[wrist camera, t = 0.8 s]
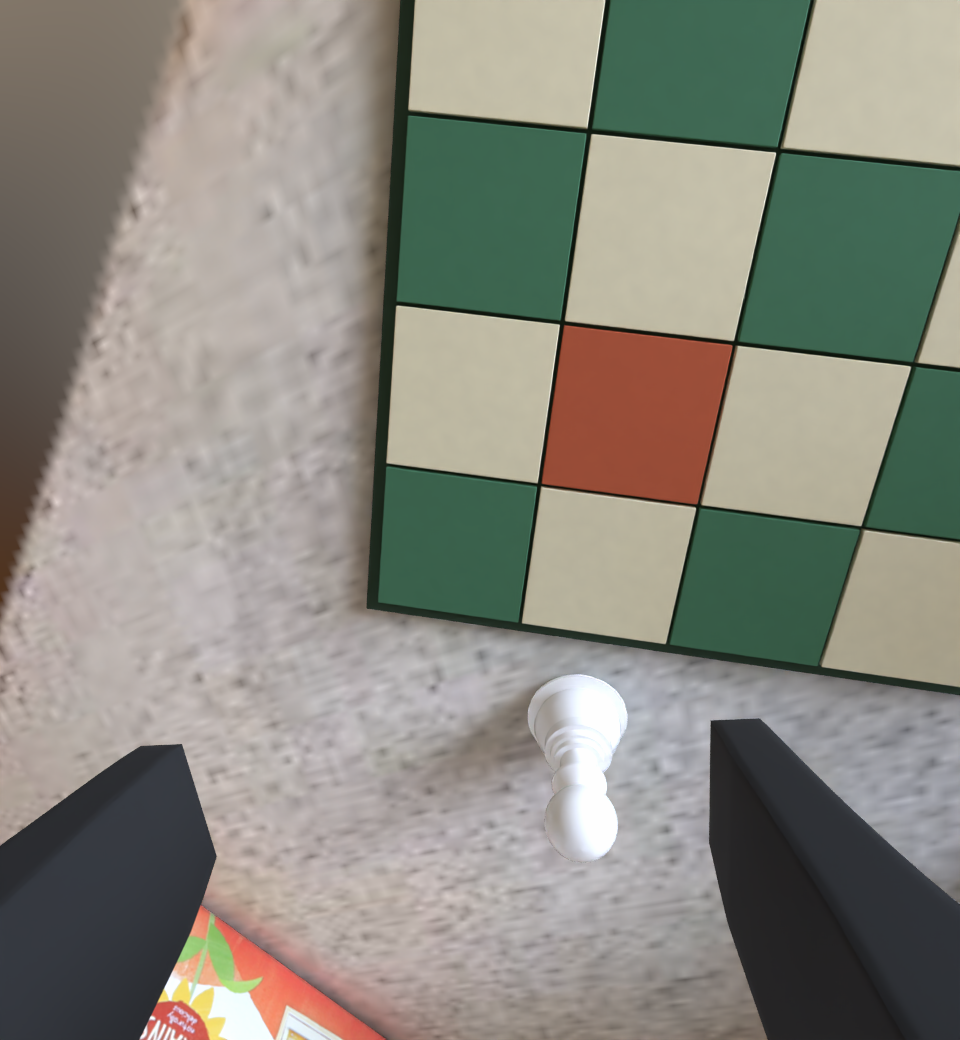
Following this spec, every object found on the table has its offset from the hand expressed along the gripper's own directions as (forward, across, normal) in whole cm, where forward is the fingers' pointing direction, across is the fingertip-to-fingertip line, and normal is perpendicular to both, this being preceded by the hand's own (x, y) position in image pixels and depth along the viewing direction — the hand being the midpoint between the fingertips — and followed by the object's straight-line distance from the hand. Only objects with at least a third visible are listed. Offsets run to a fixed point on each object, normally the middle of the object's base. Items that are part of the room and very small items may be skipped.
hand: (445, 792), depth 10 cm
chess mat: (+10, -6, -4) cm, 12 cm away
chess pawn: (+10, -2, +6) cm, 12 cm away
